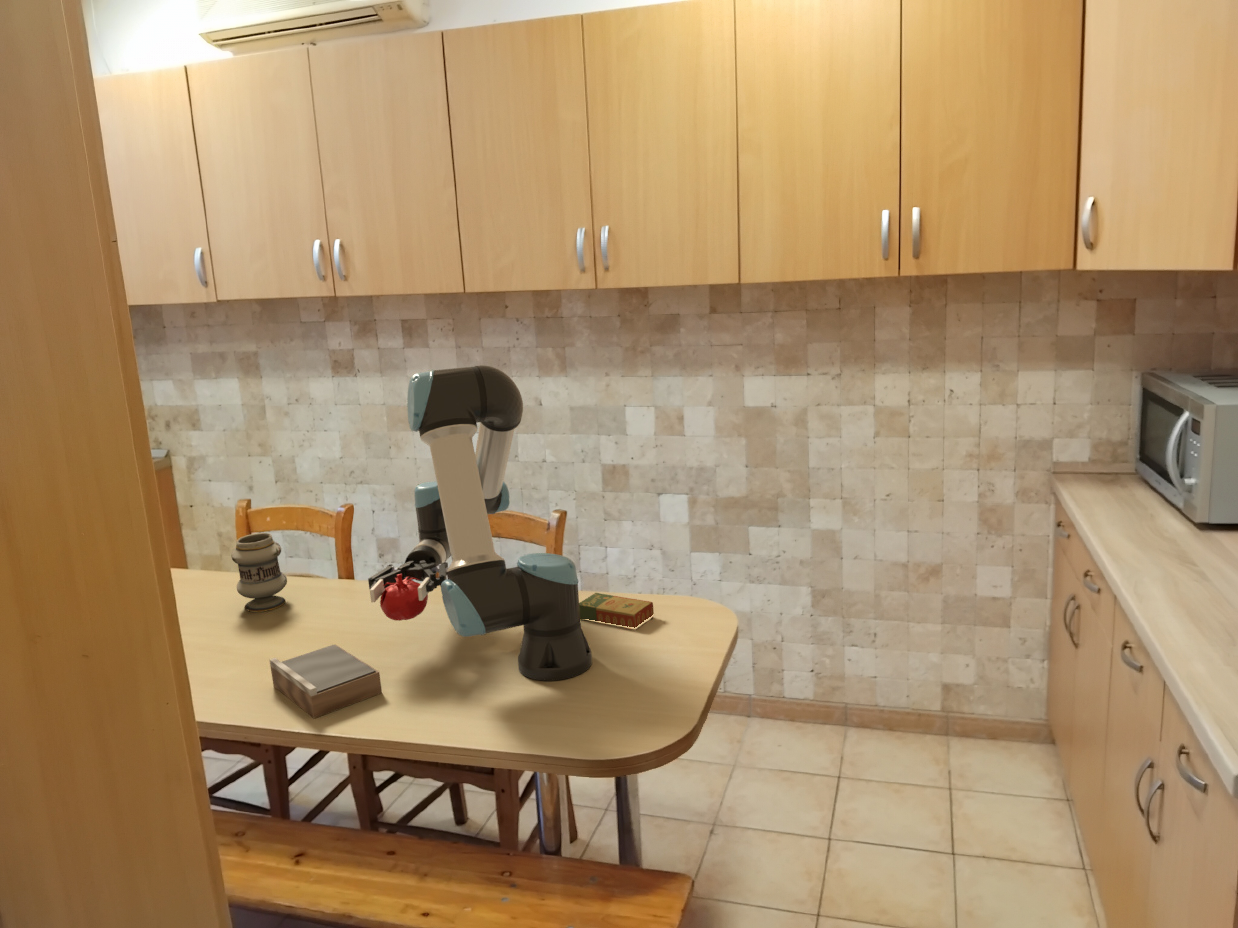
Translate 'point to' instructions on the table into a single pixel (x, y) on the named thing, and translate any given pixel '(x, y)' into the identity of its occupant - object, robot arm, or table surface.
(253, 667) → the table surface
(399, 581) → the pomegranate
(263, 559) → the apothecary jar
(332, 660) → the tray
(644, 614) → the carton
